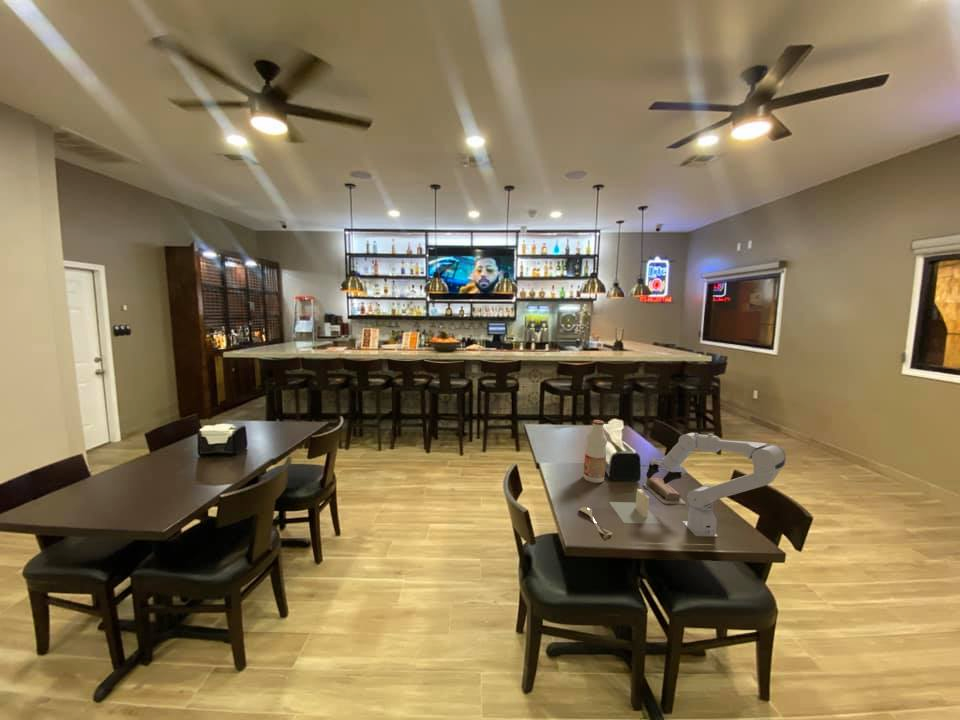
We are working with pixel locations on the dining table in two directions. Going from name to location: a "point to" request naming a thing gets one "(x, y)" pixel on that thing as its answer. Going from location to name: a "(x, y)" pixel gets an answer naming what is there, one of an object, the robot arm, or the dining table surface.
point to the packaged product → (663, 491)
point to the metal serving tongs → (589, 512)
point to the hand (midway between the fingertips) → (656, 479)
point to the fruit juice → (595, 453)
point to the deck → (642, 503)
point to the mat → (632, 513)
